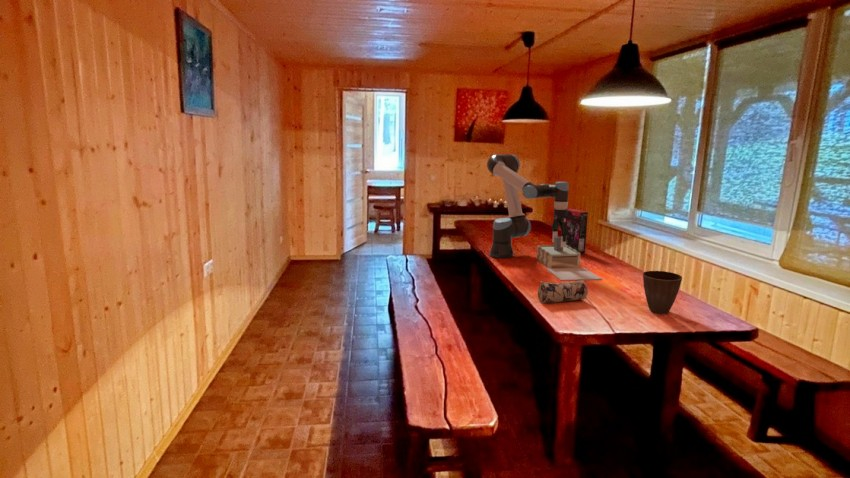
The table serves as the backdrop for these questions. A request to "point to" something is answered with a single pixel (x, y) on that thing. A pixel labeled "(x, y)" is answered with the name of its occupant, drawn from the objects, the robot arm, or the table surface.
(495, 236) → the robot arm
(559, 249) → the sliding lid
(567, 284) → the pencil case
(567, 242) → the graphics card box
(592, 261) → the table surface
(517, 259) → the table surface
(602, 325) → the table surface
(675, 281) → the plant pot
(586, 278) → the grey tray
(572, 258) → the wooden box
